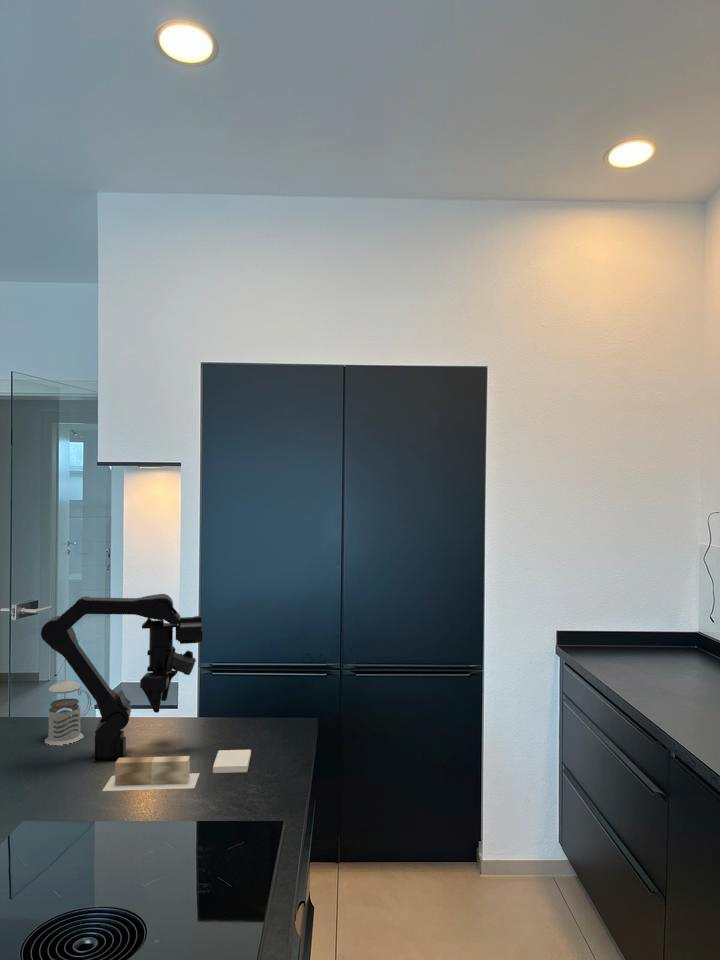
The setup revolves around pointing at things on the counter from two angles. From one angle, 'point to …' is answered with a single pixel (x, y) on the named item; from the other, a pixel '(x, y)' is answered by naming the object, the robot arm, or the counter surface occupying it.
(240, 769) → the glazed tile
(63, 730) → the french press
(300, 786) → the counter surface
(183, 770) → the beige rectangular block
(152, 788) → the mat
